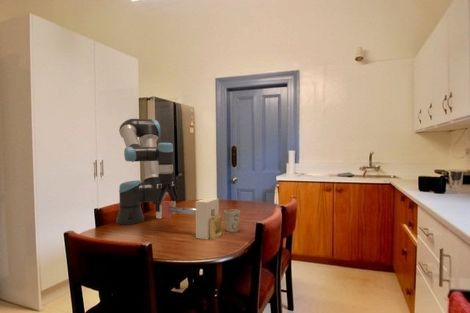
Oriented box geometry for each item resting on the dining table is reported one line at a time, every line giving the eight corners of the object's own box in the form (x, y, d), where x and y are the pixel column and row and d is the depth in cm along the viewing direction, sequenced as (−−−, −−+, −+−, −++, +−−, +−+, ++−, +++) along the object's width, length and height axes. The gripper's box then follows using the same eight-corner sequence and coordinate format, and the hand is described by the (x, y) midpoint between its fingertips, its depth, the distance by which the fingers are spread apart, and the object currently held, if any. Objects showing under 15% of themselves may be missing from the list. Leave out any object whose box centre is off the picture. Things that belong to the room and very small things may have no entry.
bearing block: (195, 238, 137) (195, 201, 137) (208, 231, 148) (207, 197, 148) (207, 239, 135) (207, 202, 134) (218, 232, 146) (218, 198, 145)
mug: (228, 233, 144) (228, 213, 144) (218, 227, 155) (218, 208, 155) (243, 231, 148) (243, 211, 148) (232, 225, 159) (232, 207, 159)
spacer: (209, 238, 136) (209, 219, 136) (218, 233, 144) (218, 215, 144) (213, 239, 135) (213, 219, 135) (222, 234, 143) (221, 215, 143)
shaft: (160, 216, 150) (160, 201, 150) (164, 215, 153) (163, 200, 153) (207, 221, 140) (207, 204, 139) (210, 220, 142) (209, 203, 142)
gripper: (157, 174, 138) (157, 221, 138) (184, 171, 160) (185, 211, 160) (144, 174, 141) (144, 219, 141) (173, 171, 163) (173, 210, 163)
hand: (166, 215), depth 151 cm, fingers open, 11 cm apart
